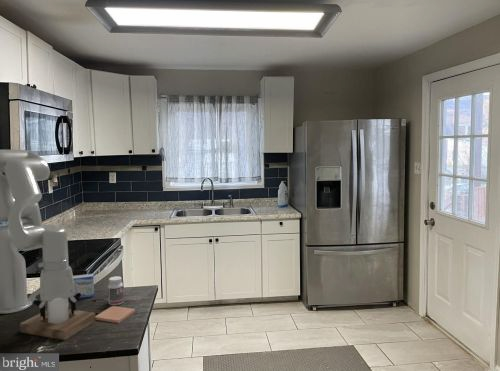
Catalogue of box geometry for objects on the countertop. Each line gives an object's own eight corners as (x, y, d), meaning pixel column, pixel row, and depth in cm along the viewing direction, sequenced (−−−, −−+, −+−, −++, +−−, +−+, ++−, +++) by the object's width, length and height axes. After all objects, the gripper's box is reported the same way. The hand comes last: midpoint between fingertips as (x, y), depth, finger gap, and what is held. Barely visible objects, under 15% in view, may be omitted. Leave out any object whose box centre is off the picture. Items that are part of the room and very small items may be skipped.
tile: (94, 319, 135) (94, 316, 135) (112, 308, 145) (112, 305, 144) (118, 323, 132) (118, 320, 132) (135, 311, 142) (135, 309, 142)
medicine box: (73, 299, 153) (72, 278, 152) (73, 295, 157) (72, 275, 156) (94, 296, 156) (93, 276, 155) (94, 292, 160) (93, 272, 160)
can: (60, 331, 126) (59, 296, 125) (43, 330, 127) (42, 295, 126) (73, 323, 132) (72, 289, 131) (57, 321, 134) (55, 288, 132)
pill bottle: (126, 301, 151) (126, 277, 150) (114, 306, 146) (114, 281, 145) (117, 298, 154) (116, 275, 153) (105, 303, 149) (104, 279, 148)
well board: (20, 332, 126) (20, 323, 125) (53, 314, 139) (53, 306, 139) (65, 340, 120) (64, 330, 120) (95, 321, 134) (94, 312, 134)
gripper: (25, 271, 120) (28, 325, 122) (85, 264, 129) (87, 314, 130) (26, 265, 127) (29, 316, 129) (83, 258, 135) (85, 306, 137)
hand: (58, 314), depth 129 cm, fingers open, 8 cm apart
